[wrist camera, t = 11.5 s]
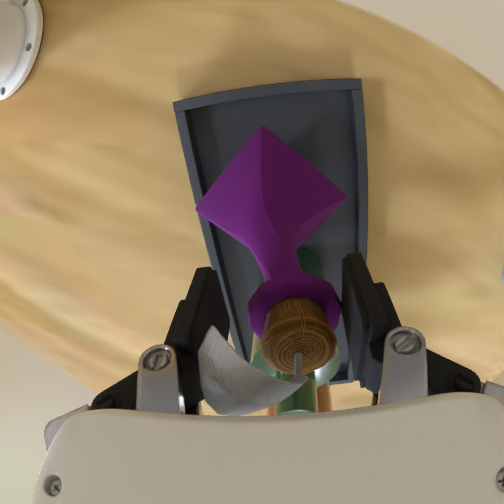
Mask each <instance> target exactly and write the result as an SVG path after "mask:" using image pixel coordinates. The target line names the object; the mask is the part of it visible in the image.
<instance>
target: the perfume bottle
mask: <svg viewBox="0 0 504 504" xmlns="http://www.w3.org/2000/svg"><path fill="white" fill-rule="evenodd" d="M346 199H347V195H346V194H345V193H344V192H343V191H342V190H341V189H340V188H338V187H337V186H336V185H335V184H334V183H333V182H332V181H331V180H329V179H328V178H327V177H326V176H325V175H324V174H322V173H321V172H320V171H319V170H318V169H317V168H316V167H314V166H313V165H312V164H311V163H310V162H308V161H307V160H306V159H305V158H304V157H302V156H301V155H300V154H299V153H298V152H296V151H295V150H294V149H293V148H291V147H290V146H289V145H288V144H287V143H285V142H284V141H283V140H282V139H280V138H279V137H278V136H276V135H275V134H274V133H273V132H271V131H270V130H269V129H267V128H266V127H265V126H260V127H259V128H258V129H257V130H256V131H255V133H254V134H253V135H252V136H251V137H250V139H249V140H248V141H247V142H246V143H245V145H244V146H243V147H242V148H241V150H240V151H239V152H238V153H237V155H236V156H235V157H234V158H233V160H232V161H231V162H230V163H229V165H228V166H227V167H226V168H225V170H224V171H223V172H222V174H221V175H220V176H219V177H218V179H217V180H216V181H215V183H214V184H213V185H212V186H211V188H210V189H209V190H208V192H207V193H206V194H205V196H204V197H203V198H202V200H201V201H200V202H199V204H198V205H197V206H196V211H197V212H198V213H199V214H200V215H202V216H203V217H205V218H206V219H207V220H209V221H210V222H212V223H213V224H215V225H216V226H218V227H219V228H220V229H222V230H223V231H225V232H226V233H228V234H229V235H230V236H232V237H233V238H235V239H236V240H238V241H239V242H240V243H242V244H243V245H245V246H246V247H248V248H249V249H250V250H251V251H252V253H253V255H254V257H255V259H256V261H257V263H258V265H259V268H260V270H261V273H262V275H263V278H264V283H261V284H260V286H259V287H258V288H257V290H256V291H255V293H254V294H253V295H252V297H251V298H250V299H249V301H248V322H249V325H250V328H251V329H252V330H253V331H254V332H255V334H256V335H257V336H258V337H259V338H260V340H261V355H262V356H263V358H264V359H265V360H266V362H267V363H268V364H269V366H270V367H271V368H273V369H276V370H278V371H280V372H283V373H285V374H293V377H292V378H291V379H290V380H289V381H284V380H280V379H276V378H274V377H272V376H270V375H268V374H266V373H264V372H263V371H261V370H259V369H257V368H255V367H254V366H252V365H251V364H250V363H248V362H247V361H246V360H245V359H243V358H242V357H241V356H240V355H239V354H238V353H237V352H236V351H235V350H234V349H233V347H232V346H231V345H230V344H229V343H228V342H227V341H226V340H225V338H224V337H223V336H222V335H221V334H220V333H219V331H218V330H217V328H216V327H214V326H212V325H211V327H210V328H209V330H208V332H207V333H206V335H205V337H204V340H203V342H202V344H201V346H200V349H199V351H198V360H199V371H200V382H201V388H202V391H203V395H204V398H205V401H206V402H207V403H208V404H209V405H210V406H211V407H212V408H213V409H214V410H215V411H216V412H217V413H218V414H221V415H227V416H240V415H245V414H250V413H253V412H256V411H259V410H262V409H265V408H268V407H271V406H273V405H276V404H278V403H279V402H281V401H282V400H284V399H285V398H287V397H288V396H290V395H291V394H292V393H294V392H295V391H296V390H297V389H298V388H300V387H301V386H302V385H303V384H304V383H305V382H307V381H308V380H309V378H308V377H307V376H305V375H303V374H307V373H310V372H312V371H315V370H317V369H320V368H322V367H324V366H325V365H326V364H327V363H328V362H329V361H330V359H331V358H332V357H333V356H334V355H335V350H336V345H337V338H336V336H335V334H334V332H333V331H334V330H335V329H336V328H337V327H338V323H339V319H340V314H341V308H342V303H341V301H340V299H339V297H338V295H337V293H336V291H335V289H334V287H333V286H332V284H331V283H330V282H328V281H326V280H324V279H322V278H320V277H318V276H316V275H314V274H312V273H303V271H302V269H301V267H300V265H299V261H298V257H297V253H296V250H297V249H298V248H299V247H300V246H301V245H302V244H303V243H304V242H305V241H306V240H307V239H308V238H309V237H310V236H311V235H312V234H313V233H314V232H315V231H316V230H317V229H318V228H319V227H320V226H321V225H322V224H323V223H324V222H325V221H326V220H327V219H328V218H329V217H330V216H331V215H332V214H333V213H334V212H335V211H336V210H337V209H338V208H339V207H340V206H341V205H342V204H343V203H344V202H345V201H346Z"/></svg>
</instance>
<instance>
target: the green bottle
mask: <svg viewBox="0 0 504 504" xmlns="http://www.w3.org/2000/svg"><path fill="white" fill-rule="evenodd" d="M296 253H297V257H298V261H299V265H300V267H301V269H302V271H303V273H312V274H314V275H316V276H318V277H320V278H322V279H324V280H325V277H324V272H323V267H322V264H321V262H320V260H319V259H318V257H317V256H316V255H315V254H314V253H312V252H311V251H309V250H307V249H305V248H302V247H299V248H298V249H297V250H296ZM261 283H264V278H263V275H262V273H261V270H260V268H259V276H258V287H259V286H260V284H261ZM258 287H257V288H258ZM333 332H334V334H335V330H334V331H333ZM335 336H336V335H335ZM250 364H251V365H252V366H254V367H255V368H257V369H259V370H261V371H263V372H264V373H266V374H268V375H270V376H272V377H274V378H276V379H280V380H284V381H289V380H290V379H291V378H292V377H293V374H285V373H283V372H280V371H278V370H276V369H273V368H271V367H270V366H269V364H268V363H267V362H266V360H265V359H264V358H263V356H262V355H261V340H260V338H259V337H258V336H257V335H256V334H255V332H254V331H253V342H252V353H251V363H250ZM339 366H340V359H339V352H338V346H337V345H336V350H335V355H334V356H333V357H332V358H331V359H330V361H329V362H328V363H327V364H326V365H325V366H324V367H322V368H320V369H317V370H315V371H312V372H310V373H307V374H303V375H305V376H307V377H308V378H309V380H308V381H307V382H305V383H304V384H303V385H302V386H301V387H300V388H298V389H297V390H296V391H295V392H294V393H292V394H291V395H290V396H288V397H287V398H285V399H284V400H282V401H281V402H279V403H278V404H276V405H275V413H274V415H292V414H306V413H318V402H317V389H316V388H317V387H319V386H322V385H323V384H325V383H327V382H328V381H330V380H331V379H332V378H333V377H334V376H335V375H336V373H337V371H338V369H339Z"/></svg>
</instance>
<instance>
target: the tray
mask: <svg viewBox="0 0 504 504" xmlns="http://www.w3.org/2000/svg"><path fill="white" fill-rule="evenodd" d="M173 107H174V112H176V113H175V116H176V121H177V125H178V130H179V134H180V139H181V144H182V148H183V152H184V157H185V161H186V166H187V170H188V174H189V179H190V183H191V187H192V191H193V195H194V199H195V204H196V206H197V205H198V204H199V202H200V201H201V200H202V198H203V197H204V196H205V194H206V193H207V192H208V190H209V189H210V188H211V186H212V185H213V184H214V183H215V181H216V180H217V179H218V177H219V176H220V175H221V174H222V172H223V171H224V170H225V168H226V167H227V166H228V165H229V163H230V162H231V161H232V160H233V158H234V157H235V156H236V155H237V153H238V152H239V151H240V150H241V148H242V147H243V146H244V145H245V143H246V142H247V141H248V140H249V139H250V137H251V136H252V135H253V134H254V133H255V131H256V130H257V129H258V128H259V127H260V126H265V127H266V128H267V129H269V130H270V131H271V132H273V133H274V134H275V135H276V136H278V137H279V138H280V139H282V140H283V141H284V142H285V143H287V144H288V145H289V146H290V147H291V148H293V149H294V150H295V151H296V152H298V153H299V154H300V155H301V156H302V157H304V158H305V159H306V160H307V161H308V162H310V163H311V164H312V165H313V166H314V167H316V168H317V169H318V170H319V171H320V172H321V173H322V174H324V175H325V176H326V177H327V178H328V179H329V180H331V181H332V182H333V183H334V184H335V185H336V186H337V187H338V188H340V189H341V190H342V191H343V192H344V193H345V194H346V195H347V199H346V201H345V202H344V203H343V204H342V205H341V206H340V207H339V208H338V209H337V210H336V211H335V212H334V213H333V214H332V215H331V216H330V217H329V218H328V219H327V220H326V221H325V222H324V223H323V224H322V225H321V226H320V227H319V228H318V229H317V230H316V231H315V232H314V233H313V234H312V235H311V236H310V237H309V238H308V239H307V240H306V241H305V242H304V243H303V244H302V245H301V246H300V247H302V248H305V249H307V250H309V251H311V252H312V253H314V254H315V255H316V256H317V257H318V259H319V260H320V262H321V264H322V267H323V272H324V277H325V280H326V281H328V282H330V283H331V284H332V286H333V287H334V289H335V291H336V293H337V295H338V297H339V299H340V301H341V299H342V258H345V257H347V254H349V253H358V252H361V254H362V256H363V258H364V261H365V263H366V258H367V232H368V170H367V145H366V128H365V114H364V102H363V92H362V81H361V79H328V80H312V81H299V82H288V83H279V84H270V85H262V86H255V87H248V88H242V89H235V90H230V91H224V92H218V93H213V94H208V95H203V96H198V97H194V98H189V99H185V100H180V101H176V102H173ZM198 216H199V220H200V224H201V228H202V232H203V236H204V239H205V243H206V247H207V251H208V255H209V259H210V262H211V266H212V270H216V271H217V273H218V277H219V281H220V285H221V289H222V292H223V296H224V300H225V303H226V307H227V311H228V314H229V318H230V328H229V331H230V334H231V337H232V341H233V344H234V348H235V351H236V352H237V353H238V354H239V355H240V356H241V357H242V358H243V359H245V360H246V361H247V362H248V363H251V353H252V342H253V330H252V329H251V328H250V325H249V322H248V301H249V299H250V298H251V297H252V295H253V294H254V293H255V291H256V290H257V287H258V276H259V265H258V263H257V261H256V259H255V257H254V255H253V253H252V251H251V250H250V249H249V248H248V247H246V246H245V245H243V244H242V243H240V242H239V241H238V240H236V239H235V238H233V237H232V236H230V235H229V234H228V233H226V232H225V231H223V230H222V229H220V228H219V227H218V226H216V225H215V224H213V223H212V222H210V221H209V220H207V219H206V218H205V217H203V216H202V215H200V214H199V213H198ZM335 335H336V338H337V346H338V352H339V359H340V366H339V369H338V371H337V373H336V375H335V376H334V377H333V378H332V379H331V380H330V385H334V384H343V383H351V382H354V375H353V370H352V364H351V359H350V354H349V349H348V344H347V339H346V334H345V329H344V324H343V320H342V314H340V319H339V323H338V327H337V328H336V329H335Z"/></svg>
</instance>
